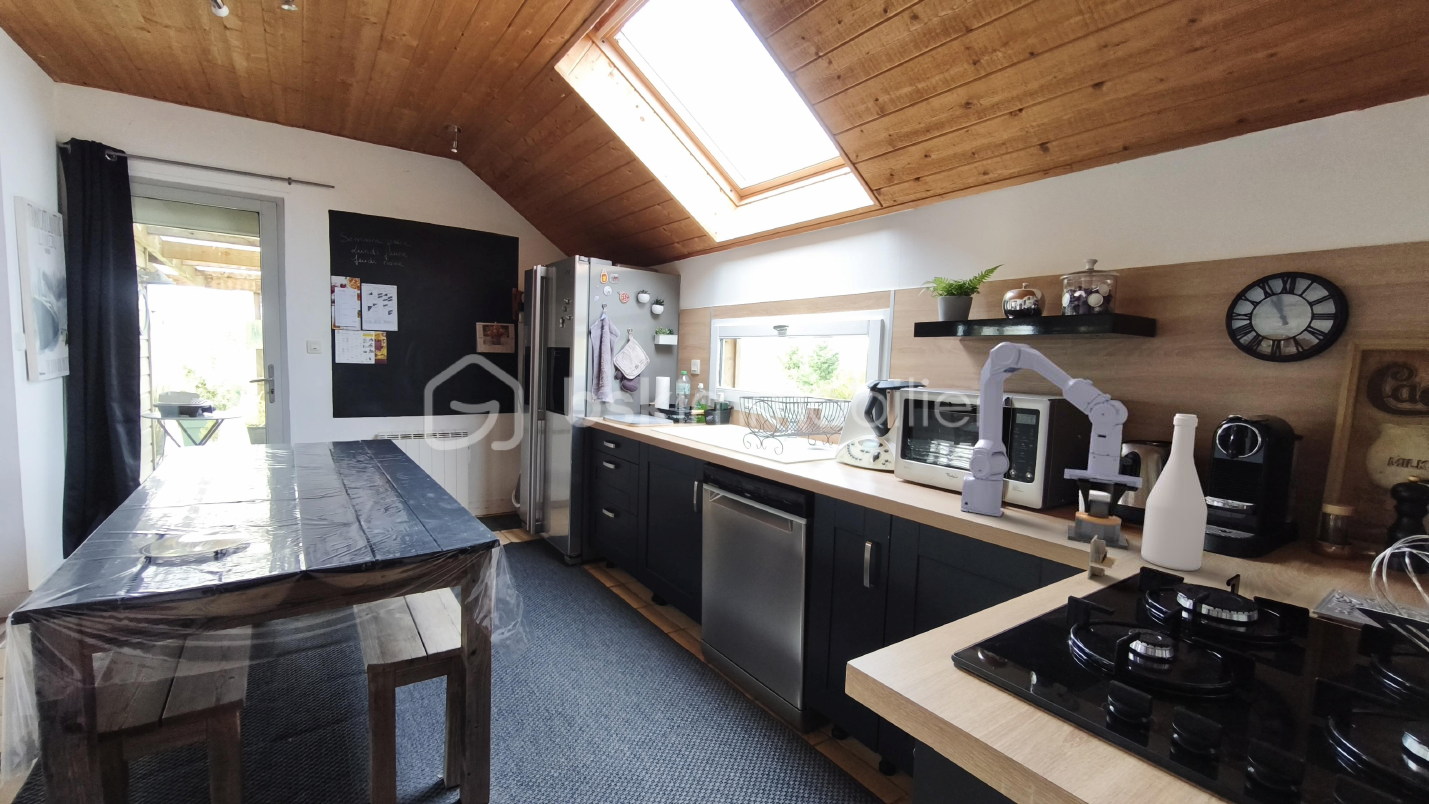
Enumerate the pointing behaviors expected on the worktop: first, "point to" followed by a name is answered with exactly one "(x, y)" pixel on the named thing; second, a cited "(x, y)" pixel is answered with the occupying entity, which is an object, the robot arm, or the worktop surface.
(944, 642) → the worktop surface
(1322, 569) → the worktop surface
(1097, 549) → the architectural model
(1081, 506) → the shot glass
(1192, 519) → the wine bottle
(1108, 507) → the cap
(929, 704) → the worktop surface
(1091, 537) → the grey bowl on base
